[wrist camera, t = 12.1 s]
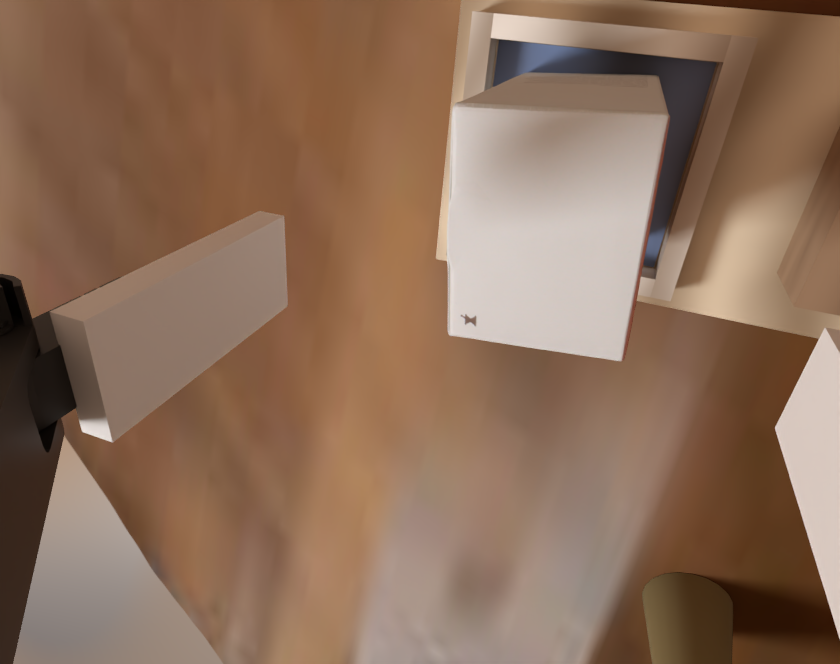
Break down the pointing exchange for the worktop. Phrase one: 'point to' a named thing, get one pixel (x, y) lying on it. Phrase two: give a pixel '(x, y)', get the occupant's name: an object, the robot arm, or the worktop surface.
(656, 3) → the board
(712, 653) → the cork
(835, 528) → the robot arm
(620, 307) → the small box
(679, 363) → the worktop surface
